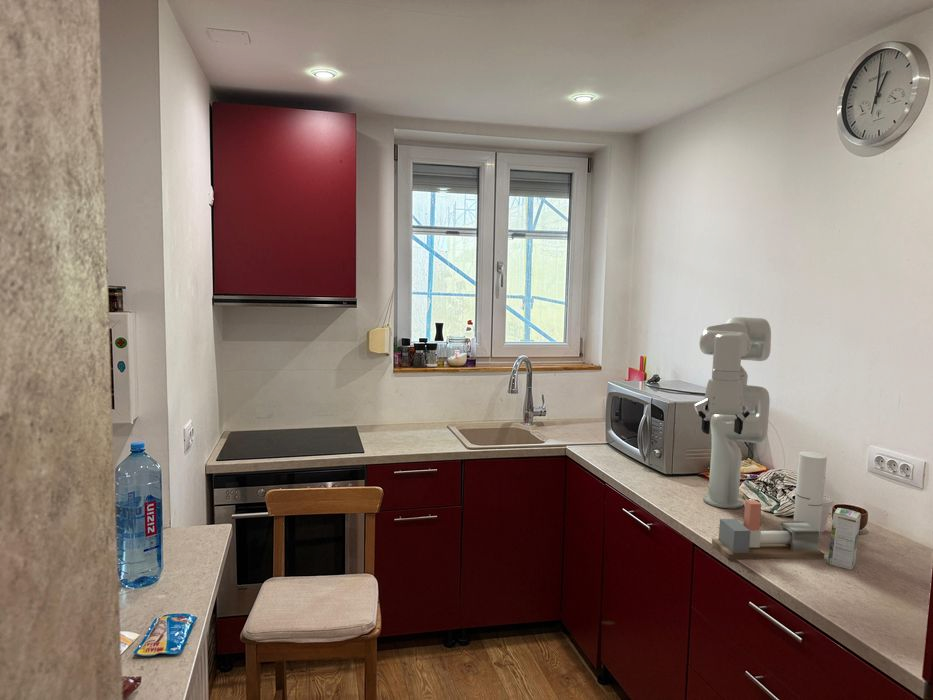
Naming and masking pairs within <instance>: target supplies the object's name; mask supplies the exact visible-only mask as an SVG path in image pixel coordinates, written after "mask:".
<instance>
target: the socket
mask: <svg viewBox="0 0 933 700" xmlns="http://www.w3.org/2000/svg"><path fill="white" fill-rule="evenodd" d="M743 524H744V523H743ZM743 524H742V523H741V522H740V521H739V519H736V518H720V519H719V529H718V539H719V541H720V542H721V543H722V544H723V545H724V546H726V547H727V548H728V549H729V550H730V551H731V552H732V553H749V543H750V530H749V529H748V528H746V527H745V526H744V525H743Z"/></svg>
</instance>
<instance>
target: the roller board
mask: <svg viewBox="0 0 933 700" xmlns="http://www.w3.org/2000/svg"><path fill="white" fill-rule="evenodd" d="M779 531H790V532H791V533H792V541H791V544H760V547H749V553H732V552H731V551H730V550H729V549H728V548H727V547H726V546H724V545H723V544H722V543H721V542H720V541H719V538H712V539H711V545H712V546H714V548H716V550H718V551H719V553H721V554H722V555H723V556H724V557H725V558H726V559H727V560H728V561H729V560H730V561H731V560H740V561H741V560H824V559H825V553H824V552H823V551H821V550H820V549H819V542H820V537H819V532H820V531H818V530H817V529H815V528H814V527H812V526H811V525H809V524H808V523H806V522H805V521H793V520H792V521H789V520H787V521H786V520H785V521H780V528H779ZM820 533H821V532H820Z"/></svg>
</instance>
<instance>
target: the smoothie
mask: <svg viewBox="0 0 933 700" xmlns="http://www.w3.org/2000/svg"><path fill="white" fill-rule="evenodd" d="M822 504H823V505H822V515H821V526H820V533H823V532H826V527H827V523H828V519H829V516H830V515H829V514H830V513H831V512H830V511H831V507H832V505H833V500H832V499H831V498H829V497H827V496H826V497H825V496H823V503H822Z"/></svg>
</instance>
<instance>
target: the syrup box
mask: <svg viewBox="0 0 933 700" xmlns="http://www.w3.org/2000/svg"><path fill="white" fill-rule="evenodd" d="M861 516H862V513H860V512H858V511H855V510H852V509H849V508H842V507H837V508H836V510H835V511H834V512H833V513H832V523H831V529H830V530H831V531H830V540H829V547H828V557H827V564H828V565H830V566H834V567H838V568H841V569H846V570H849V571H850V570H851V571H852V570H853V568H854V567H855V564H856V559H857V552H858V543H859V542H858V541H859V533H860V525H861V518H862V517H861Z"/></svg>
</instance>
